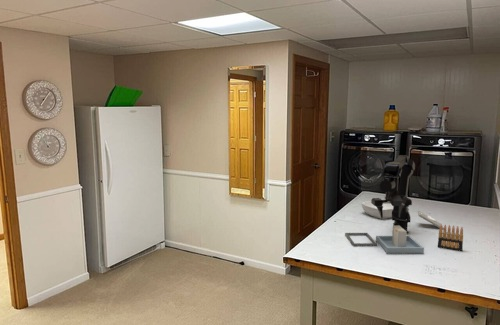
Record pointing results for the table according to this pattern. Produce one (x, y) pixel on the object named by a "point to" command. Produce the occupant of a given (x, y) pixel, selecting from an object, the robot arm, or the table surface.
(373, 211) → the white bowl
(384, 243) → the tray
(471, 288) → the table surface
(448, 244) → the ammunition clip
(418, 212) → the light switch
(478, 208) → the table surface
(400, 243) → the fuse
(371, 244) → the holder frame
